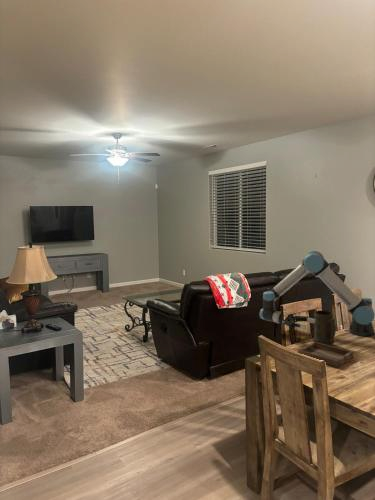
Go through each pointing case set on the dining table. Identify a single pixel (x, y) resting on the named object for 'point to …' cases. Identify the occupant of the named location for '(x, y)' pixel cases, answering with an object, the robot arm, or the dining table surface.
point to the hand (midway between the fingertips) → (311, 324)
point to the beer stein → (324, 328)
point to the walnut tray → (327, 354)
